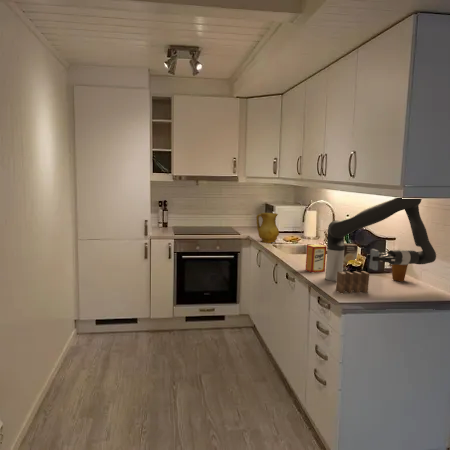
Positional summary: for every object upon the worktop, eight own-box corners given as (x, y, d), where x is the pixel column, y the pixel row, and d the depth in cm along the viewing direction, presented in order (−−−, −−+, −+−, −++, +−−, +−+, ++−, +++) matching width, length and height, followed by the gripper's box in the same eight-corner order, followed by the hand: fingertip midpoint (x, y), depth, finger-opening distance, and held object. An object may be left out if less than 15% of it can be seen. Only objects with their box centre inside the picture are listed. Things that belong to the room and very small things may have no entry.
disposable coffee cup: (400, 282, 242) (402, 262, 241) (385, 279, 250) (387, 258, 248) (410, 281, 247) (412, 260, 246) (396, 277, 255) (397, 257, 254)
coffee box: (341, 270, 268) (343, 244, 266) (338, 268, 274) (340, 243, 272) (356, 270, 268) (358, 245, 266) (352, 268, 274) (354, 243, 272)
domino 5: (371, 268, 224) (373, 249, 222) (377, 270, 219) (379, 250, 217) (369, 268, 223) (370, 249, 222) (374, 270, 218) (376, 250, 217)
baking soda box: (318, 269, 268) (320, 244, 266) (324, 271, 262) (326, 245, 260) (305, 270, 264) (307, 244, 262) (311, 272, 258) (313, 246, 256)
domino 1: (338, 290, 221) (340, 271, 219) (343, 293, 216) (345, 273, 214) (335, 290, 220) (337, 271, 219) (340, 293, 215) (342, 274, 214)
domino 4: (362, 289, 224) (363, 271, 223) (367, 292, 219) (369, 273, 218) (359, 290, 223) (361, 271, 222) (364, 292, 219) (366, 273, 217)
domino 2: (346, 290, 222) (348, 271, 220) (351, 293, 217) (353, 273, 216) (343, 290, 221) (345, 271, 220) (348, 293, 216) (350, 273, 215)
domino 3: (354, 290, 223) (356, 271, 222) (359, 292, 218) (361, 273, 217) (351, 290, 222) (353, 271, 221) (356, 293, 218) (358, 273, 216)
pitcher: (267, 243, 353) (268, 213, 352) (252, 241, 368) (254, 212, 367) (282, 243, 363) (284, 213, 362) (268, 240, 378) (269, 212, 377)
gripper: (390, 247, 230) (362, 247, 226) (408, 252, 216) (378, 253, 212) (389, 261, 231) (361, 261, 227) (407, 267, 217) (377, 268, 213)
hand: (369, 257), depth 220 cm, fingers closed on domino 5, 5 cm apart
